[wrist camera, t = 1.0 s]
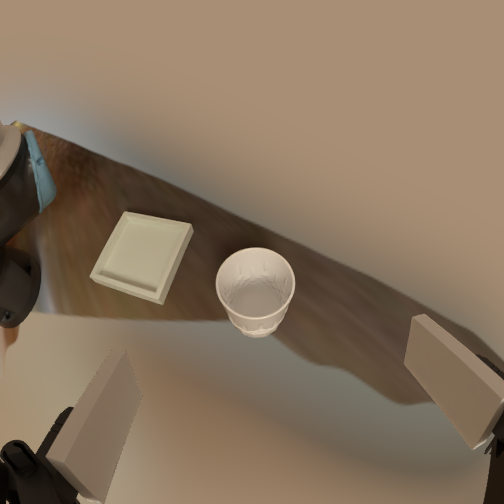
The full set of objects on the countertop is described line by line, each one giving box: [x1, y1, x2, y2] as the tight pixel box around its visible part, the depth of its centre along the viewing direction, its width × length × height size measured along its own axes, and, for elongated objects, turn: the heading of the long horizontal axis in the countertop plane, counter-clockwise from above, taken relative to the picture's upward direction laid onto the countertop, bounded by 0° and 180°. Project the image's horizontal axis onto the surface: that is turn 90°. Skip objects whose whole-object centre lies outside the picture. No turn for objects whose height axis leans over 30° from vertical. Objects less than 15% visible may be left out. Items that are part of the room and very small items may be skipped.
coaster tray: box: [90, 211, 194, 305], centre depth 41 cm, size 13×13×2 cm
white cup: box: [216, 248, 295, 338], centre depth 33 cm, size 8×8×10 cm
